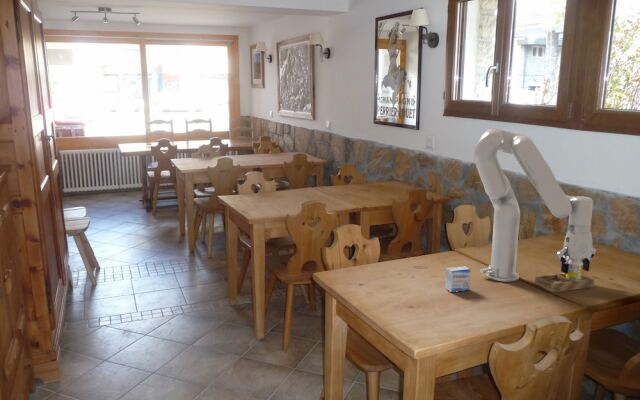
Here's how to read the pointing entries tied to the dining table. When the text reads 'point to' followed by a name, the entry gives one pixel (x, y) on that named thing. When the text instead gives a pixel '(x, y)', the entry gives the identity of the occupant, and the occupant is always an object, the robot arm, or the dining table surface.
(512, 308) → the dining table surface
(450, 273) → the medicine box
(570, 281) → the divided well tray
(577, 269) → the supplement bottle
